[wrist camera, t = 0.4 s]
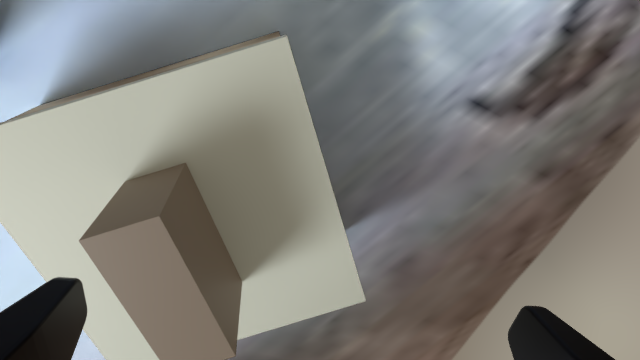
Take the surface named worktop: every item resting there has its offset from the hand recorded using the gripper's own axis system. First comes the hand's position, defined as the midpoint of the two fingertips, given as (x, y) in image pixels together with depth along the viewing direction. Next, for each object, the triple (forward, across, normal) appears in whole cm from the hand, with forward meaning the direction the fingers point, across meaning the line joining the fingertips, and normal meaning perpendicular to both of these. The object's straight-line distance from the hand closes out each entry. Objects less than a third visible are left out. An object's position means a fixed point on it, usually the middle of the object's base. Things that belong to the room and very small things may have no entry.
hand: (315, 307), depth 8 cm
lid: (+8, +4, +5) cm, 10 cm away
